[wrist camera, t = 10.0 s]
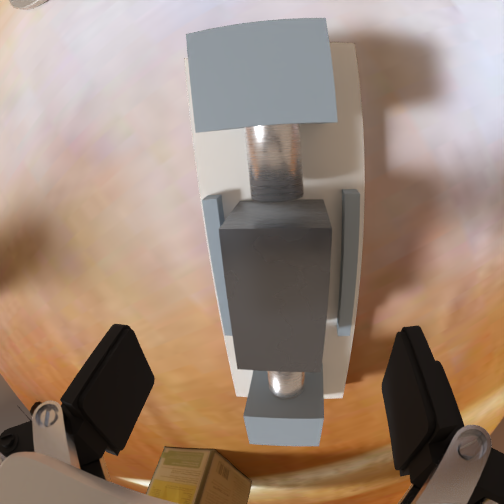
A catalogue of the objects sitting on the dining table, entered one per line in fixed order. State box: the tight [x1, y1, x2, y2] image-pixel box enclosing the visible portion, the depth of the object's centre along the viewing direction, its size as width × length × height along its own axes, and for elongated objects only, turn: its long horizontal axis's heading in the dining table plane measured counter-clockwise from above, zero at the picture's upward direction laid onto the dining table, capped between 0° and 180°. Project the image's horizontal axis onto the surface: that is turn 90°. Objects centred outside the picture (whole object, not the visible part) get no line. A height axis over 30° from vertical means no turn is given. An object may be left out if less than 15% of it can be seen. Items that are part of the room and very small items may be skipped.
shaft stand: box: [184, 18, 365, 446], centre depth 16 cm, size 25×9×6 cm, turn 6°
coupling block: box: [219, 199, 332, 372], centre depth 15 cm, size 8×4×4 cm, turn 5°
